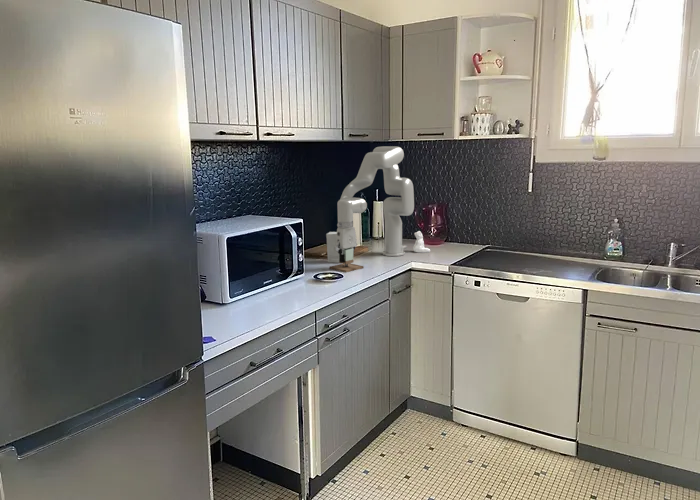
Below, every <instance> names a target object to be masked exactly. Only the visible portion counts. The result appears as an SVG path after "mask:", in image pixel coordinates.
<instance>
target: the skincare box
mask: <svg viewBox="0 0 700 500" xmlns="http://www.w3.org/2000/svg"><path fill="white" fill-rule="evenodd" d="M336 235H337V231H329V232H327V233H326V234H325V237H326V248H327V249H326V252H327V263H329V264H331V263H333V264H334V263H337V264H340V263H339V254H338V252H337V251H336V250H335V249H334V248H335V246H336Z"/></svg>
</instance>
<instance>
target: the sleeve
mask: <svg viewBox="0 0 700 500" xmlns="http://www.w3.org/2000/svg"><path fill="white" fill-rule="evenodd" d="M341 251H342V249H341ZM344 255H345V262H344V263H343V262H340V260H339V263H338V264H349V263H351V264H354V252H353V248H347V249H344Z"/></svg>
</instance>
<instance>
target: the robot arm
mask: <svg viewBox="0 0 700 500" xmlns="http://www.w3.org/2000/svg"><path fill="white" fill-rule="evenodd" d="M404 157H405V153H404V149H402V147H400V146H395V145H394V146H393V145H392V146H391V145H390V146H384V145H383V146H377V147H375V148H374V149H373V150H372V151H370V152H367V153H365V155H364V157H363V160H362V162H361V164H360V167H359V170H358V173H357V175H356V177H355V178H354V179H353V180H352V181H350V182H349V184H347V185H346V186H345V188H344V189H343V191H342V192H341V193H342V194H341V196H340V199H338V201H337V224H336V226H337V229H336V232H337V235H336V246H335V248H334V249H335V250H336V251H337V252H338V254H339V260H340V262H343V263H344V262H345V255H344V249H347V248H353V253H354V252H355V249H356V248H357V246H358V242H357V234H356V232H357V231H356V227H354V214H362V213H364V212H365V211H366V210H367V207H368V203H367V202H366V200H365V199H364V198H361V197H354V196H355V194H356V193H358V192H359V191H361V190H363V189H366V188H368V187H370V186H371V185H372V184H373V182H374V180H375V177H376V174H377V171H378V170H382V172H383V186H384V191H385V193H386V194H387V195H389V196H390V195H391V196H390V197H386V198H385V199H384V200H383V203H382V211H383V217H384V250H383V251H382V252H381V254H382V255H383V256H387V257H399V256H404V255H405V254H406V252H405V251H404V250H405V249H406V250H407V249H408V245H403V221H402V218H401V217H400V216H403V217H404V216H406V217H408V216H409V217H410V216H411V215H412V214H414V213H413V212H414V210H415V194H414V193H415V191H414V184H413V181H412V180H411V179H410V178H408V177H401V176H400V168H399V167H400V166H399V165H398V164H400V163H401V162H402V161H403V159H404ZM394 196H395V197H394ZM398 196H400V197H398ZM341 249H342V251H341ZM343 263H342V264H343Z"/></svg>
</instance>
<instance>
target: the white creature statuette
mask: <svg viewBox="0 0 700 500" xmlns="http://www.w3.org/2000/svg"><path fill="white" fill-rule="evenodd" d="M414 237H415V238H416V240H415V243H414V245H413V247H412V250H413V252H414V253H418V254H421V253H424V254H425V253H426V254H429V253H431V249H430V248H428V247H425V242H424V236H423V233H422V232H421V231H420V230H418V231H417V232H414Z"/></svg>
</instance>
